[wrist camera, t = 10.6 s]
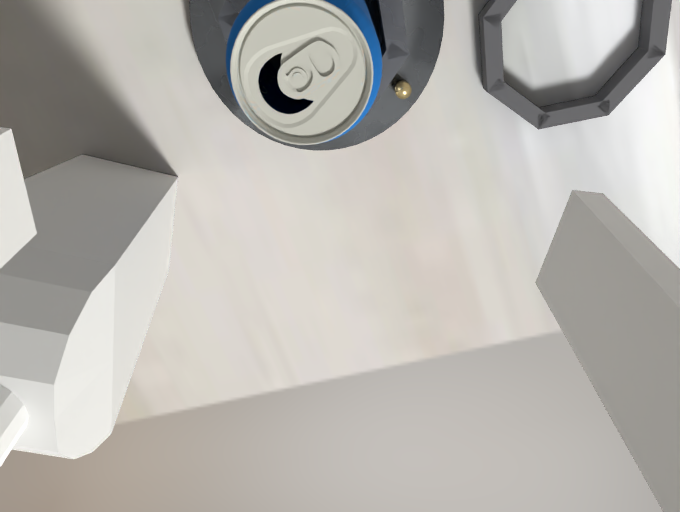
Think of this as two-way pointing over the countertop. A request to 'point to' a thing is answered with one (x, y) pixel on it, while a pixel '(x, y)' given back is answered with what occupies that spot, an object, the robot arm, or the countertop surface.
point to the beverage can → (304, 67)
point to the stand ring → (582, 109)
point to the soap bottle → (80, 302)
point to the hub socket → (396, 48)
